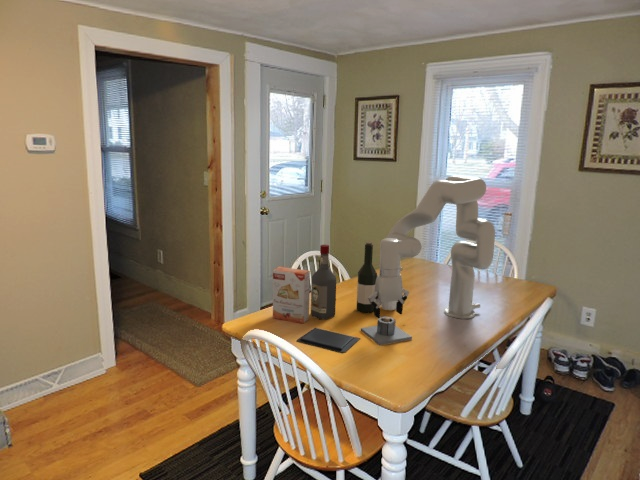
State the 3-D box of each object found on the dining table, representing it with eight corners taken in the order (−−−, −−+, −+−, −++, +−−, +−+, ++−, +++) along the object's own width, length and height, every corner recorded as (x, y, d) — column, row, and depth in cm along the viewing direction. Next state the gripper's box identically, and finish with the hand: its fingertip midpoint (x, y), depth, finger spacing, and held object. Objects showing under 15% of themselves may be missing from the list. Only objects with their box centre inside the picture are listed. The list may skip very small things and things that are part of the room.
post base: (391, 325, 189) (392, 310, 188) (411, 339, 177) (412, 322, 175) (360, 330, 184) (361, 314, 182) (379, 345, 171) (380, 328, 170)
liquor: (323, 309, 205) (324, 242, 198) (338, 315, 199) (340, 246, 192) (307, 314, 199) (308, 245, 192) (322, 321, 192) (324, 249, 186)
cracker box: (272, 318, 194) (272, 269, 189) (278, 313, 199) (278, 265, 195) (303, 324, 189) (304, 273, 184) (309, 319, 194) (310, 269, 190)
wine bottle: (362, 314, 200) (366, 245, 194) (352, 308, 207) (355, 241, 201) (379, 311, 204) (382, 244, 198) (368, 305, 211) (371, 240, 205)
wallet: (294, 338, 173) (315, 324, 186) (294, 342, 173) (315, 328, 186) (343, 351, 163) (362, 335, 176) (343, 356, 164) (361, 340, 177)
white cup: (397, 311, 205) (398, 289, 203) (379, 310, 206) (380, 288, 204) (398, 305, 212) (399, 284, 210) (380, 304, 214) (381, 282, 212)
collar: (388, 327, 184) (389, 315, 183) (397, 334, 178) (398, 321, 177) (374, 330, 181) (375, 318, 180) (383, 336, 176) (383, 324, 175)
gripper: (403, 266, 182) (402, 308, 186) (364, 271, 175) (363, 315, 179) (415, 271, 175) (413, 314, 179) (374, 277, 168) (373, 322, 172)
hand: (388, 315), depth 179 cm, fingers open, 9 cm apart
